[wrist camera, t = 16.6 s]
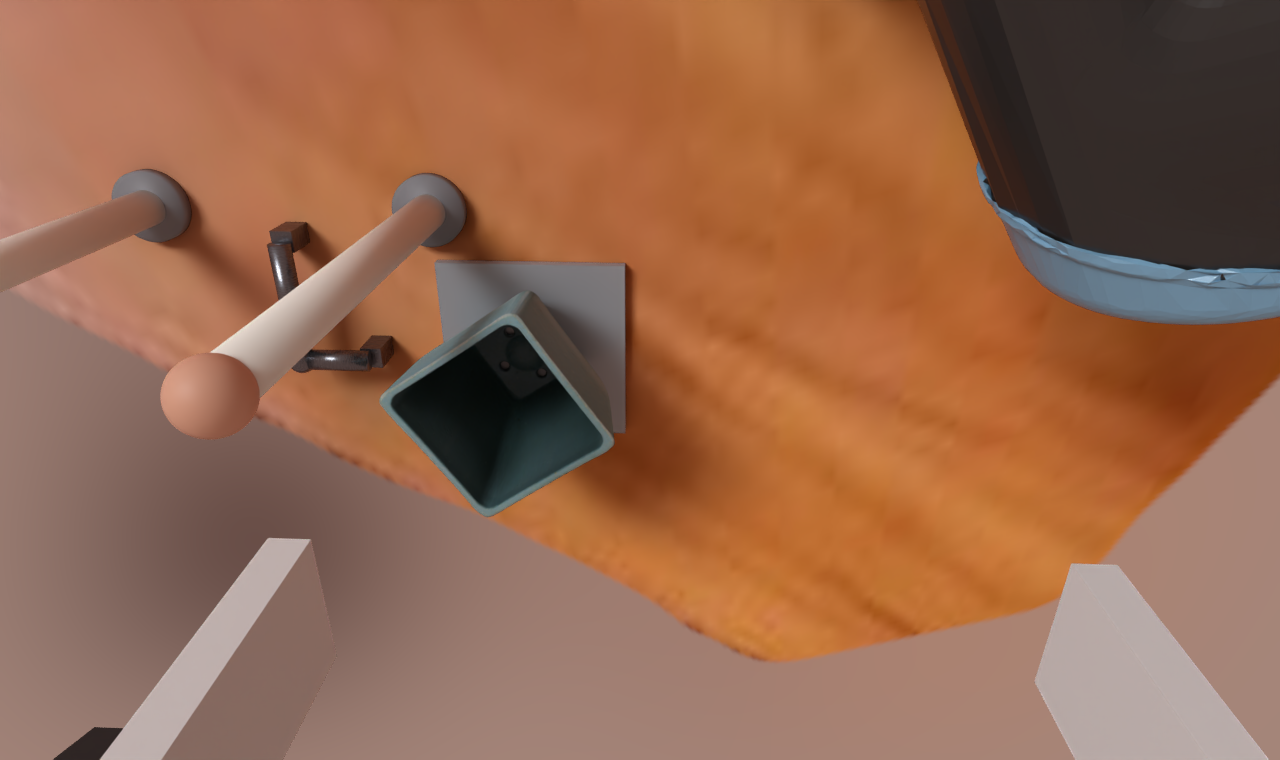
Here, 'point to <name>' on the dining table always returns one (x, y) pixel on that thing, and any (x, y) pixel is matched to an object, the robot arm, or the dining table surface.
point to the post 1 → (98, 227)
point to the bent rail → (281, 257)
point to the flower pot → (504, 406)
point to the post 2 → (306, 314)
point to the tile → (571, 293)
